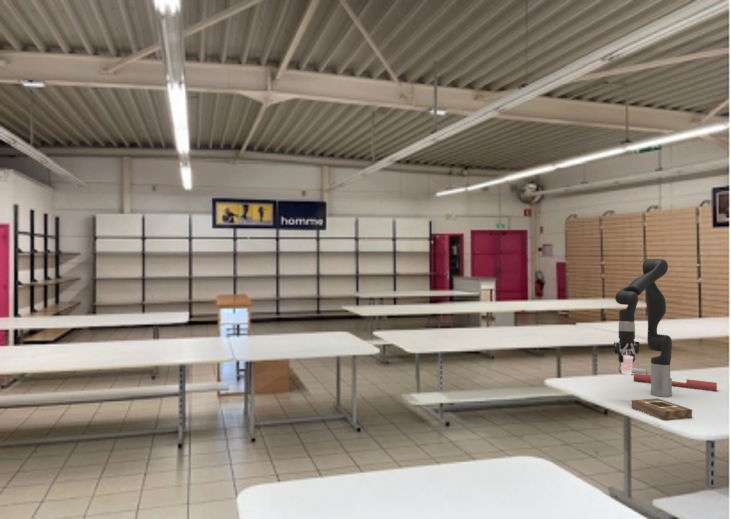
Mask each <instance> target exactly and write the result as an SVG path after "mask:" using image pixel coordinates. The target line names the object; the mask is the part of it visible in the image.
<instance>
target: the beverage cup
mask: <svg viewBox="0 0 731 519" xmlns="http://www.w3.org/2000/svg"><path fill="white" fill-rule="evenodd" d="M633 363H634V362H633V356H630V355H628V349H627V350H626V351H625V355H624V354H623V363H621V362H620V367H621V370H622V372H621V374H622V375H628V376H630V375H632V374H633V373H632V368H633Z"/></svg>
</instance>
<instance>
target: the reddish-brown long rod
mask: <svg viewBox="0 0 731 519" xmlns="http://www.w3.org/2000/svg"><path fill="white" fill-rule="evenodd" d="M636 381H638V382H637V383H644V384H651V375H646V374H639V373H633V382H636ZM672 387H678V388H684V387H685V388H686V389H693V388H694V389H693V390H695V389H696V390H701V389H702V391H709V390H712V391H711V392H717V389H718V383H717V382H712V381H704V380H697V379H696V380H695V379H688V378H687V379H686V382H681V381H674V380H673V381H672Z"/></svg>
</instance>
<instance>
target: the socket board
mask: <svg viewBox="0 0 731 519" xmlns="http://www.w3.org/2000/svg"><path fill="white" fill-rule="evenodd" d="M630 402H631V404H630V405H631V406H630V407H631V409H632V408H633V410H635V409H636V410H635V411H637V410H639V411H638V412H640V411H642V412H641V413H643V412H644V413H643V414H645V413H646V415H648V414H649V415H648V416H651V417H653V416H654V418H656V419H659V420H662V421H672V420H685V418H686V419H692V418H693V409H692V408H689V407H686V406H683V405H680V404H676V403H673V402H670V401H667V400H665V399H661V398H659V397H658V398H643V399H633V400H632V399H631V400H630Z"/></svg>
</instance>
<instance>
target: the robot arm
mask: <svg viewBox="0 0 731 519" xmlns="http://www.w3.org/2000/svg"><path fill="white" fill-rule="evenodd" d="M668 269H669V265H668V262H667V260H666V259H663V258H647V259H646V258H645V259H644V260H643V262H642V275H640V276H638V277H636V278H635V279H633V280H632V281H631V282H630V284H628V285H627V286H625V287H623V288H621V289H619V290H618V291H617V293H616V294H615V298H614V299H615V302H616V303H617V304H618V305H622V306H626V308H623V309H620V310H619V313H618V338H619V341H617V342H616V341H614V342H613V348H614V354H615V355H618V359H617V360H618V362H619V363H620V364H621V363H623V355H624V354H625V353H626V350H627V351H629V356H633V363H634V362H635V360H636V355H637V354H639V352H640V341H635V339H636V324H635V312H636V310H637V306H638V302H639V296H641V295H642V293H643V292H644V291H645V297H646V300H645V303H646V312H647V314H646V315H647V316H646V317H647V347H648V348H649V350H651V351H655V352H660V354H659V355H657V356H653V357H651V358H650V369H651V383H650V395H652V396H655V397H663V398H665V397H666V398H668V397H671V396H672V393H673V392H672V391H673V390H672V389H673V388H672V387H673V386H672V377H671V361H672V351H673V350H672V348H673V342H672V338H671V336H670V335H668V334H660V333H658V326H659V324H660V322H661V320H662V319H663V318H664V316H665V314H666V313H667V306H666V305H667V304H666V297H665V296H664V294H663V293H662V292H661V290H660V288H659V287H658V286H657V284H656V281H658V280H659V279H660V278H662V277H663V276H664V275H666V274H667V273H668Z"/></svg>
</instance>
